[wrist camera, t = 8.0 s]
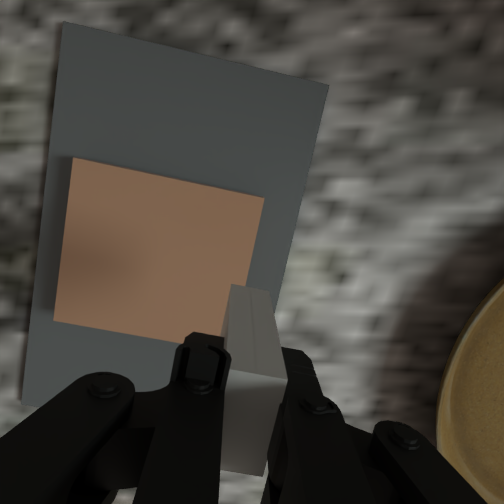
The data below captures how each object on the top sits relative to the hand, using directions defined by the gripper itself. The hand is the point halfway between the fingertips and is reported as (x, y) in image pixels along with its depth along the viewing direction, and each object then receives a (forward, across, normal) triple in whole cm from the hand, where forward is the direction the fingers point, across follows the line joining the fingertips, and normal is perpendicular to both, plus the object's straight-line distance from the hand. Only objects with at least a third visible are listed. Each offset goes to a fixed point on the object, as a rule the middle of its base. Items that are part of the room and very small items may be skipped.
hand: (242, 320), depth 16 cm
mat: (+9, -4, 0) cm, 10 cm away
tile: (+8, 0, 0) cm, 8 cm away
